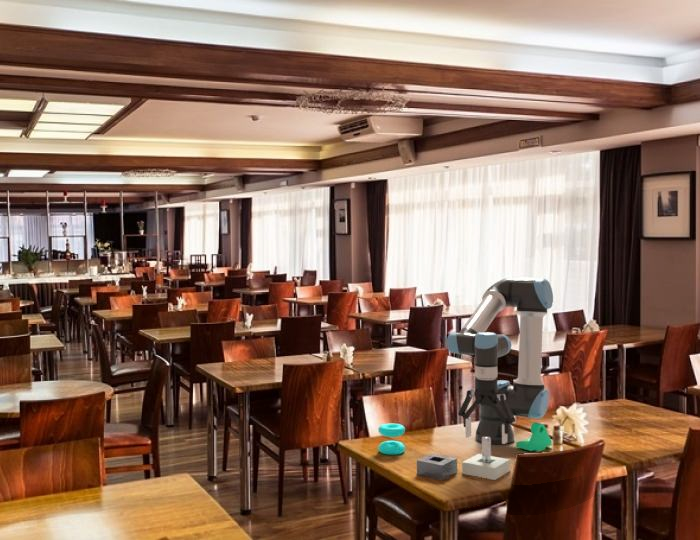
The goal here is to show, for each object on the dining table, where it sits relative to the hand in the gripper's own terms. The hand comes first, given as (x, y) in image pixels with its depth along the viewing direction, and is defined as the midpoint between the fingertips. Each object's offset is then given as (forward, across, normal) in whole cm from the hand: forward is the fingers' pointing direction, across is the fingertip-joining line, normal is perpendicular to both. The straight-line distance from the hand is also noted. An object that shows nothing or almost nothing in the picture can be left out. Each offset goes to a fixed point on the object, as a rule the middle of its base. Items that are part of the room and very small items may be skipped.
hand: (486, 439), depth 255 cm
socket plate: (+11, 0, 0) cm, 11 cm away
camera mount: (+12, +2, +37) cm, 39 cm away
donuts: (+12, -40, +2) cm, 42 cm away
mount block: (+11, -13, -11) cm, 20 cm away
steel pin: (+11, 0, 0) cm, 11 cm away
